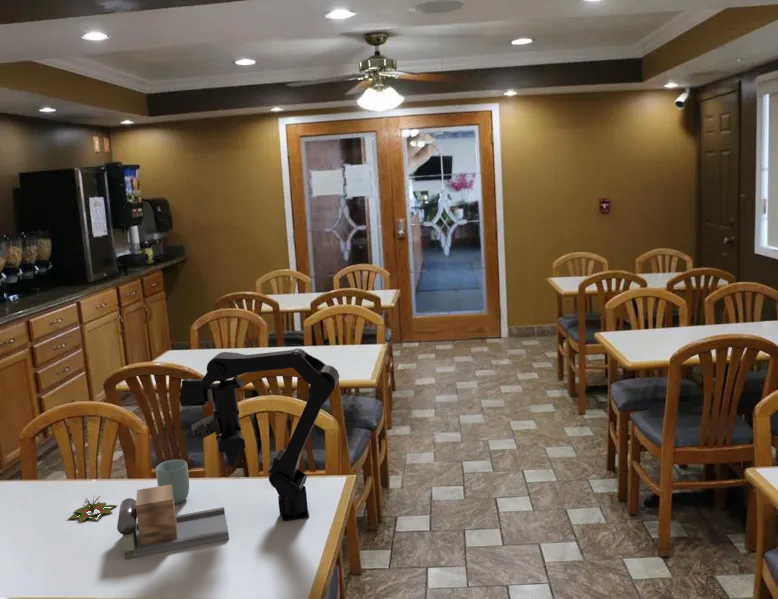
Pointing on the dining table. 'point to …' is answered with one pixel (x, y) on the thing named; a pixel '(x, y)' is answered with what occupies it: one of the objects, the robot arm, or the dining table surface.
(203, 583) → the dining table surface
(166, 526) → the brown wooden block
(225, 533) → the bay
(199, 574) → the dining table surface
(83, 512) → the lily flower
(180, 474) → the cup
